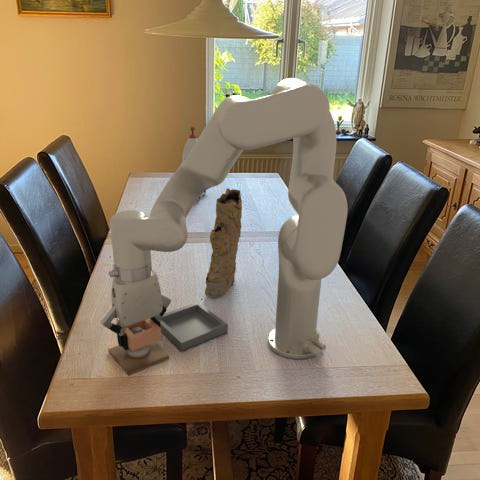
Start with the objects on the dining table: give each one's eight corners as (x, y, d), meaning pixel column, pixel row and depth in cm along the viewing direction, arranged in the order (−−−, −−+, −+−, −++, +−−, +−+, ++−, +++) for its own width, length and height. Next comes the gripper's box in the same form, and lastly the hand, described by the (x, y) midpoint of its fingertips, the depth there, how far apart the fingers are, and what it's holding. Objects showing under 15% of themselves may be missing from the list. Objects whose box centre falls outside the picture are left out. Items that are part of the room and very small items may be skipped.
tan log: (203, 282, 144) (202, 183, 132) (238, 281, 145) (241, 183, 133) (206, 307, 131) (205, 200, 119) (244, 305, 132) (248, 199, 121)
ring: (161, 339, 109) (160, 328, 108) (132, 351, 105) (131, 339, 104) (146, 325, 114) (145, 314, 113) (118, 336, 110) (117, 324, 109)
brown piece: (169, 359, 110) (168, 332, 108) (128, 376, 105) (125, 348, 102) (148, 337, 118) (146, 312, 115) (108, 352, 112) (106, 326, 109)
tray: (227, 333, 120) (227, 324, 119) (181, 352, 113) (181, 342, 112) (198, 310, 130) (198, 301, 129) (154, 326, 122) (153, 317, 121)
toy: (177, 197, 214) (175, 127, 202) (186, 190, 223) (185, 123, 211) (201, 200, 211) (200, 129, 199) (209, 193, 220) (209, 125, 208)
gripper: (101, 289, 95) (110, 364, 102) (178, 264, 105) (182, 335, 112) (86, 274, 101) (96, 347, 108) (161, 252, 110) (166, 320, 117)
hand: (140, 340), depth 110 cm, fingers closed on ring, 7 cm apart
